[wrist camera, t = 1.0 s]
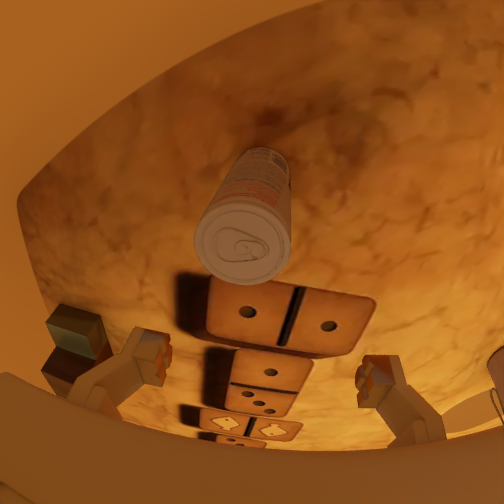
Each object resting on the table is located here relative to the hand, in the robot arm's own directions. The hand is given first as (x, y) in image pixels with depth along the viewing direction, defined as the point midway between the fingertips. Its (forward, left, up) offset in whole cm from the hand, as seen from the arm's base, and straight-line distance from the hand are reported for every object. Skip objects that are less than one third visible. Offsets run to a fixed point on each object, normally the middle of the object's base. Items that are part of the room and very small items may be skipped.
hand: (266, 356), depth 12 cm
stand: (+5, -43, -22) cm, 48 cm away
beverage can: (-2, -1, -22) cm, 22 cm away
